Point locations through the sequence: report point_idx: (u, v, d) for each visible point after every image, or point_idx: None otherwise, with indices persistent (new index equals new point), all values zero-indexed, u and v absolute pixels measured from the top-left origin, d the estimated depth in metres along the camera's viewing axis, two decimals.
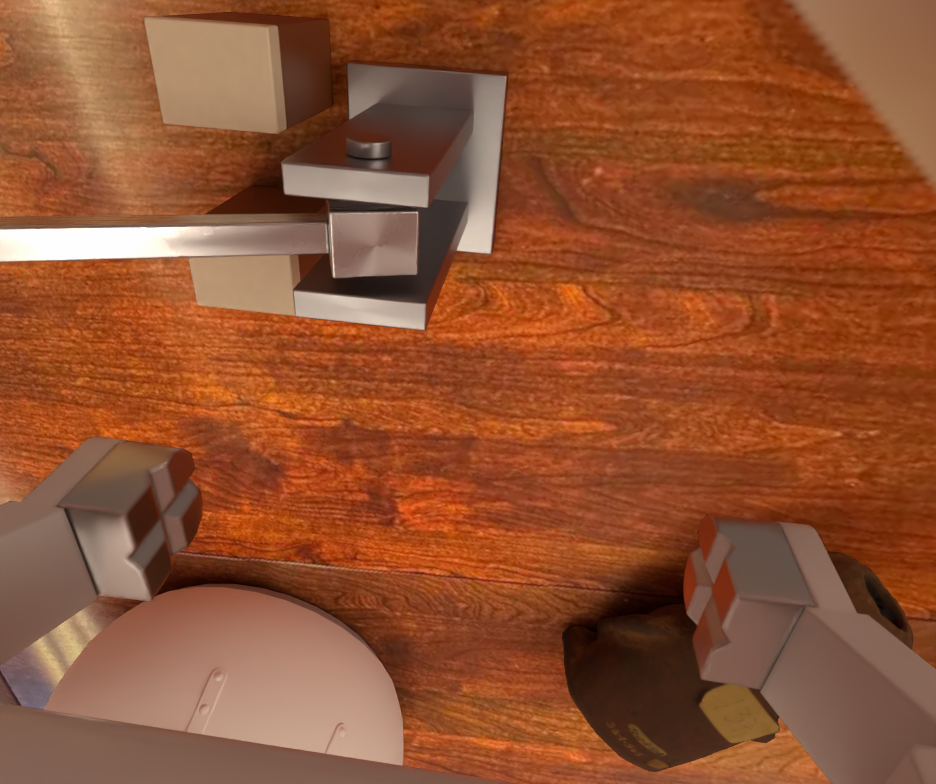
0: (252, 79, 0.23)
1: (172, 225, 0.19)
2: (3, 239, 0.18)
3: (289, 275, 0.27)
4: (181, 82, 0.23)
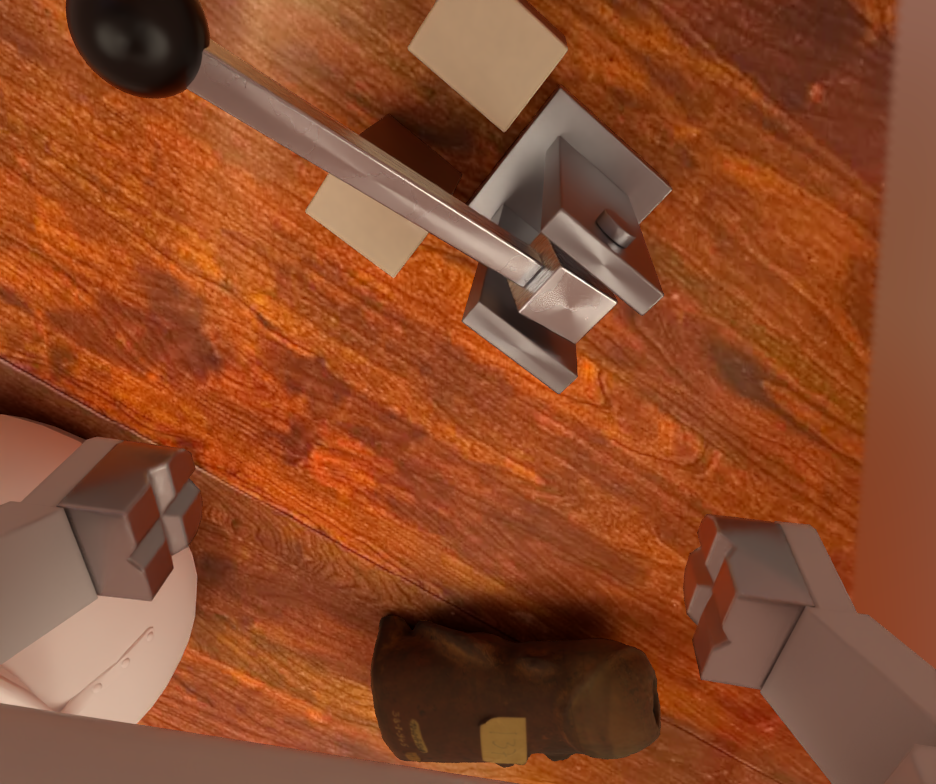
0: (520, 77, 0.22)
1: (431, 195, 0.18)
2: (280, 115, 0.16)
3: (416, 244, 0.26)
4: (455, 30, 0.22)
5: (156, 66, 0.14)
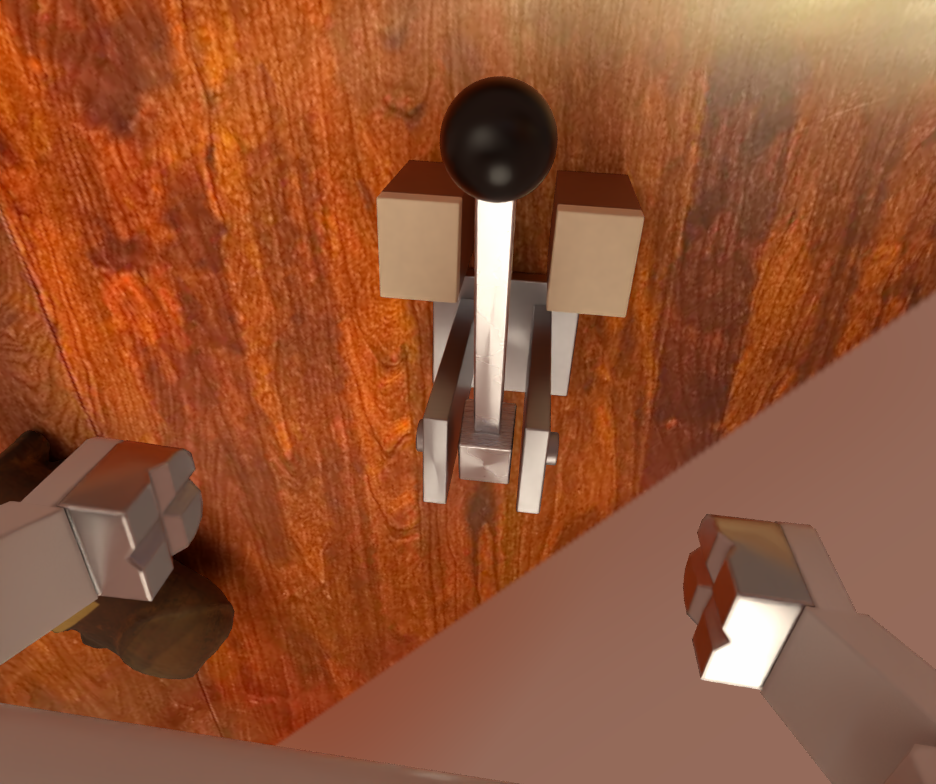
0: (589, 299, 0.27)
1: (503, 360, 0.22)
2: (498, 260, 0.19)
3: (420, 297, 0.28)
4: (591, 238, 0.26)
5: (489, 194, 0.16)
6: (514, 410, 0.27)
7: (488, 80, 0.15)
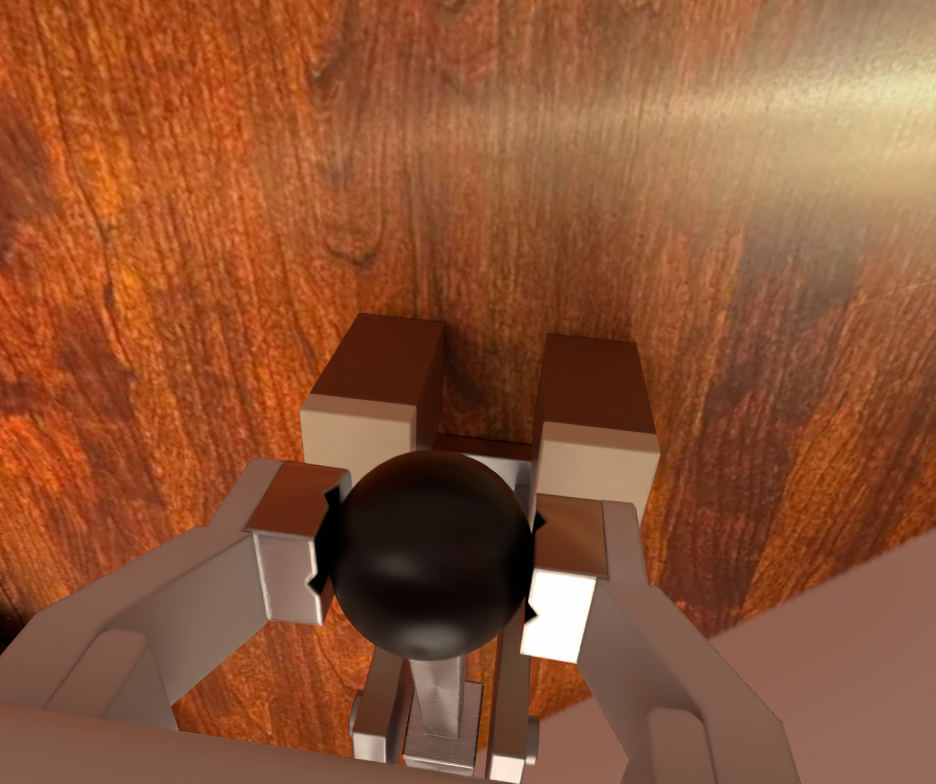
0: None
1: None
2: None
3: None
4: (588, 472, 0.19)
5: None
6: (480, 695, 0.20)
7: (408, 488, 0.08)
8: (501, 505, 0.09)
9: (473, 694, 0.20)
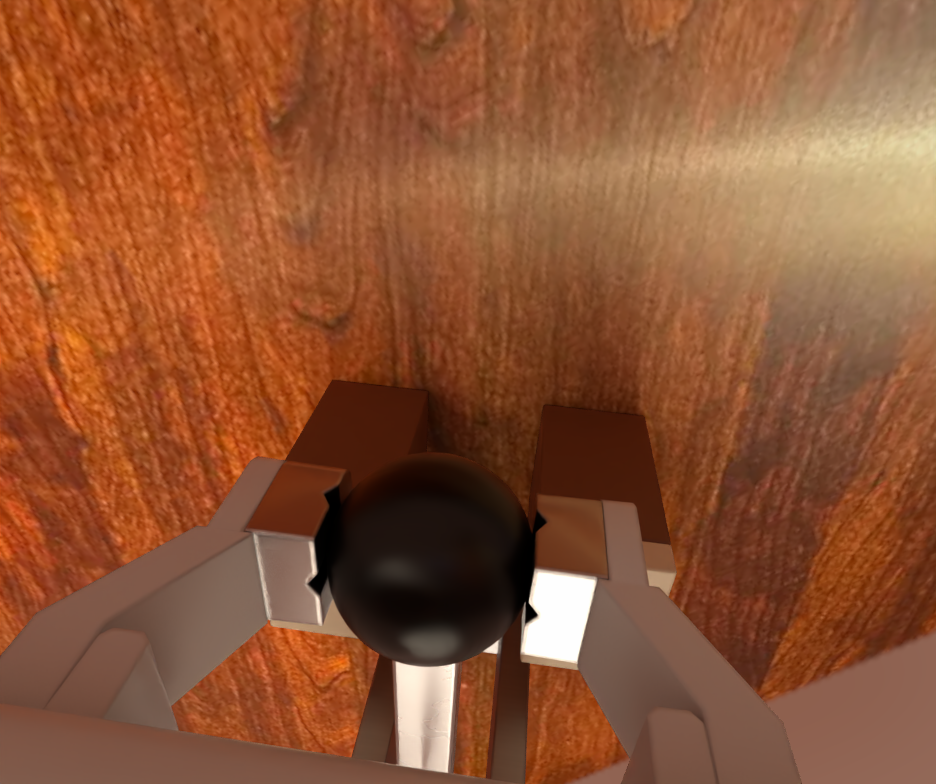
0: None
1: None
2: (432, 708, 0.11)
3: (331, 631, 0.19)
4: None
5: (407, 663, 0.09)
6: None
7: (413, 470, 0.09)
8: (503, 494, 0.09)
9: None
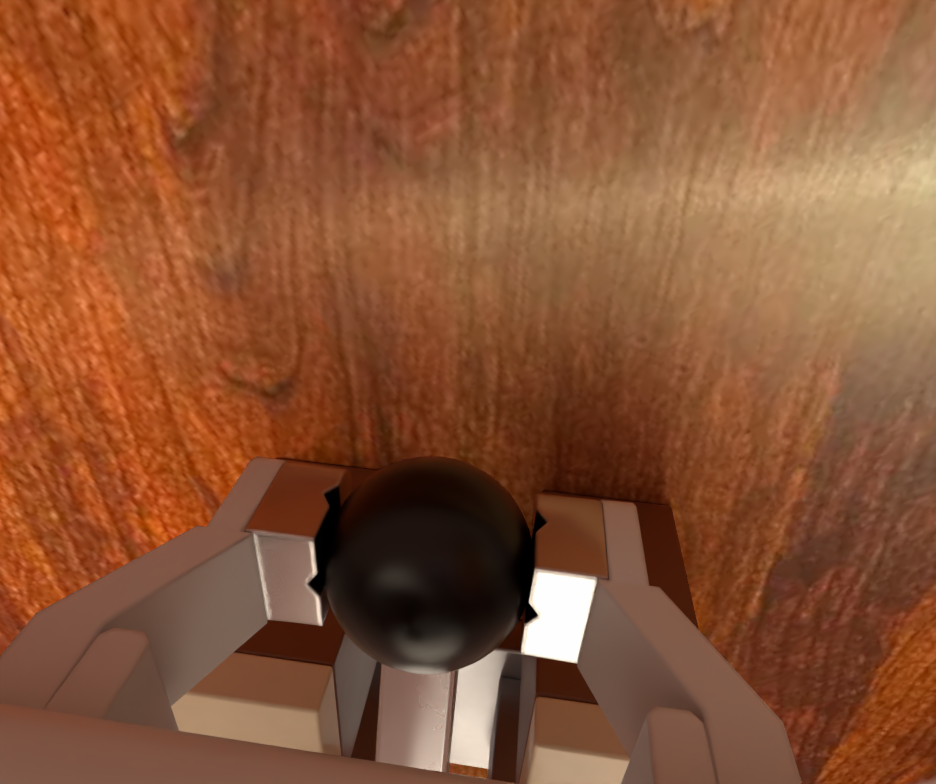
0: None
1: None
2: None
3: None
4: None
5: (403, 659, 0.08)
6: None
7: (417, 459, 0.09)
8: (503, 489, 0.09)
9: None
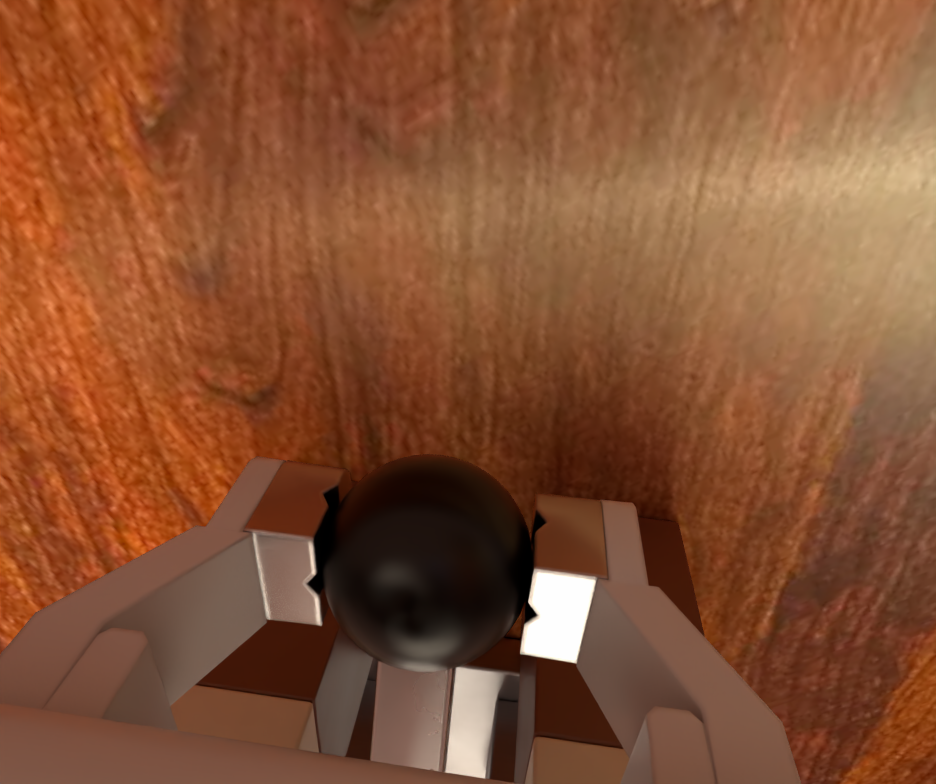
0: None
1: None
2: None
3: None
4: None
5: (401, 652, 0.08)
6: None
7: (417, 456, 0.09)
8: (502, 487, 0.09)
9: None
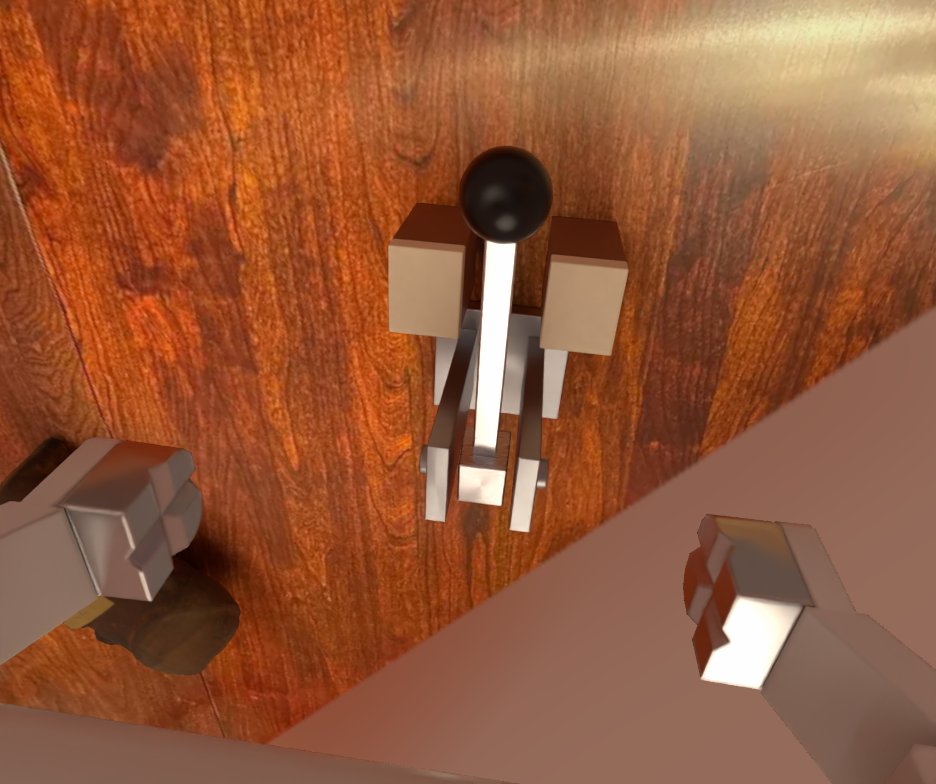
0: (578, 338, 0.30)
1: (501, 385, 0.26)
2: (501, 293, 0.22)
3: (426, 333, 0.31)
4: (581, 286, 0.29)
5: (497, 235, 0.20)
6: (509, 437, 0.30)
7: (499, 148, 0.19)
8: (539, 161, 0.20)
9: (504, 436, 0.30)
